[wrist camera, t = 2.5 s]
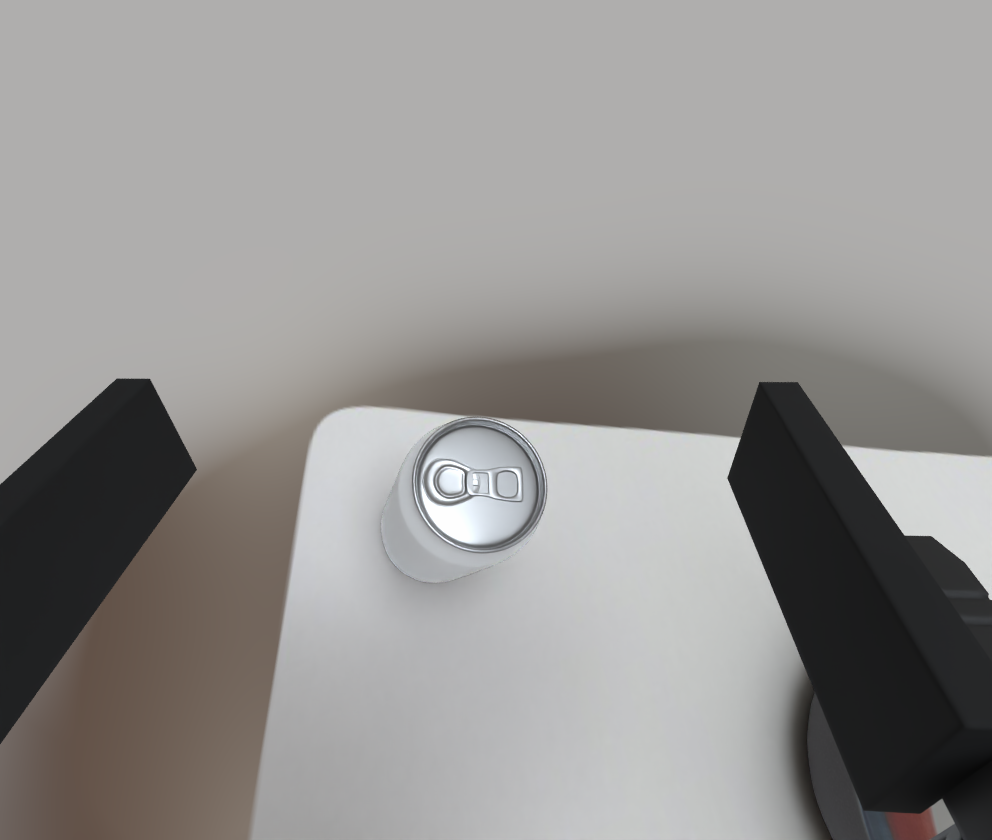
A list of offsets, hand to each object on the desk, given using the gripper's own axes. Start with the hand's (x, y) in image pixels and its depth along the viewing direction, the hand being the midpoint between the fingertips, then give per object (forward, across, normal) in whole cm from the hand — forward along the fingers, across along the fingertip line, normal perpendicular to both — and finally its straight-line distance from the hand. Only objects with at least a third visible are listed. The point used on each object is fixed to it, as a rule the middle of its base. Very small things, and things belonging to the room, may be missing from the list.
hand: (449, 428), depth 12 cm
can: (+12, -4, -18) cm, 22 cm away
